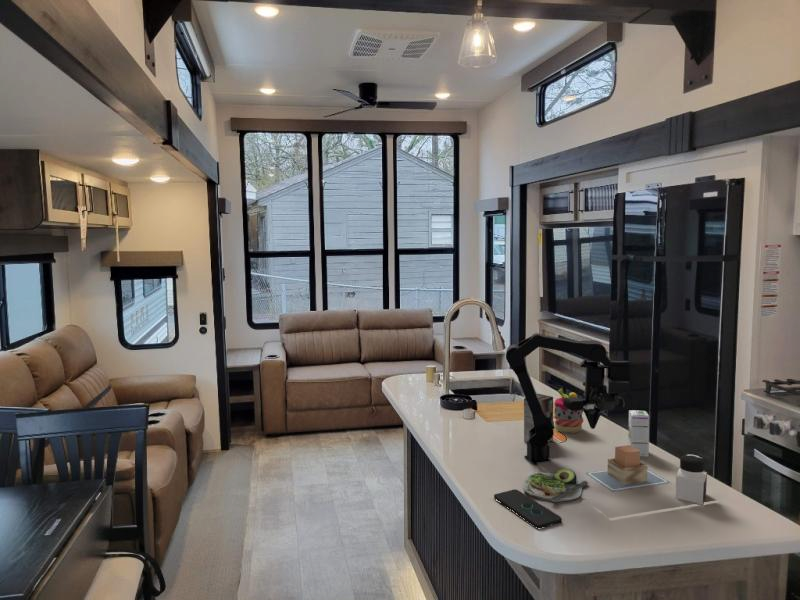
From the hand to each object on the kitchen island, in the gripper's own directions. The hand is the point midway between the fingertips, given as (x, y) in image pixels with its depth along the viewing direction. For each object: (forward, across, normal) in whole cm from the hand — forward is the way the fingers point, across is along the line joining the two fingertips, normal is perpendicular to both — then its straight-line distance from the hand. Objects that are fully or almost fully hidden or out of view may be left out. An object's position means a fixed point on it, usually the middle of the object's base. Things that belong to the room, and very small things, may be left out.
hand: (592, 428), depth 193 cm
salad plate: (+12, -20, -14) cm, 28 cm away
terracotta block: (+7, +3, -14) cm, 16 cm away
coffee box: (+12, -7, +24) cm, 27 cm away
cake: (+12, +10, +32) cm, 36 cm away
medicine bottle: (+11, +13, -30) cm, 34 cm away
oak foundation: (+11, +4, -14) cm, 18 cm away
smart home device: (+13, -34, -24) cm, 44 cm away
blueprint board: (+12, +4, -14) cm, 19 cm away
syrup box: (+12, +19, +2) cm, 22 cm away
